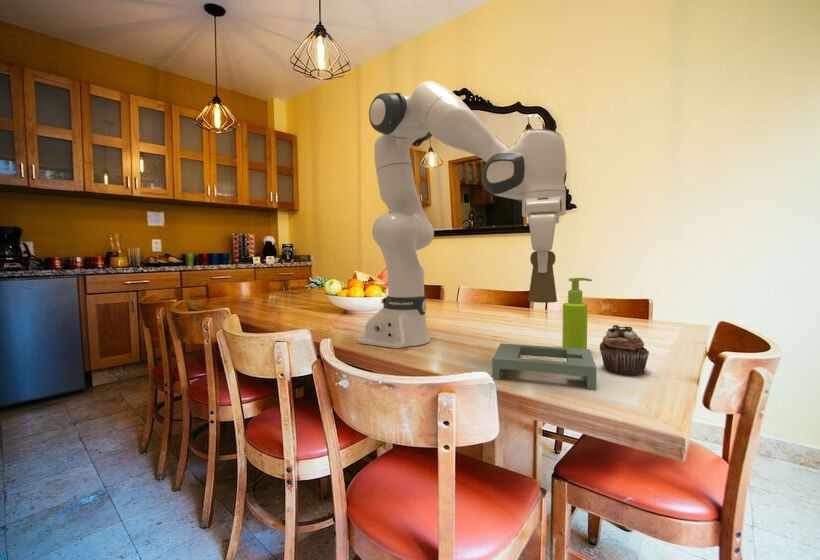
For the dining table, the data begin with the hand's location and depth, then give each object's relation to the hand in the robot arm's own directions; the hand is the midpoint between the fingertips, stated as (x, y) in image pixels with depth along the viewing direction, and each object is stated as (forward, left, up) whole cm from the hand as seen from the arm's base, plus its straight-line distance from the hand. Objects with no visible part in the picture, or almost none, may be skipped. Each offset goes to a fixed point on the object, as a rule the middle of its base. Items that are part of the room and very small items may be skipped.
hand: (542, 271), depth 81 cm
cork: (0, 0, -6) cm, 7 cm away
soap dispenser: (+8, +20, -23) cm, 31 cm away
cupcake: (+17, +8, -23) cm, 30 cm away
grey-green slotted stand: (0, 0, -23) cm, 23 cm away
